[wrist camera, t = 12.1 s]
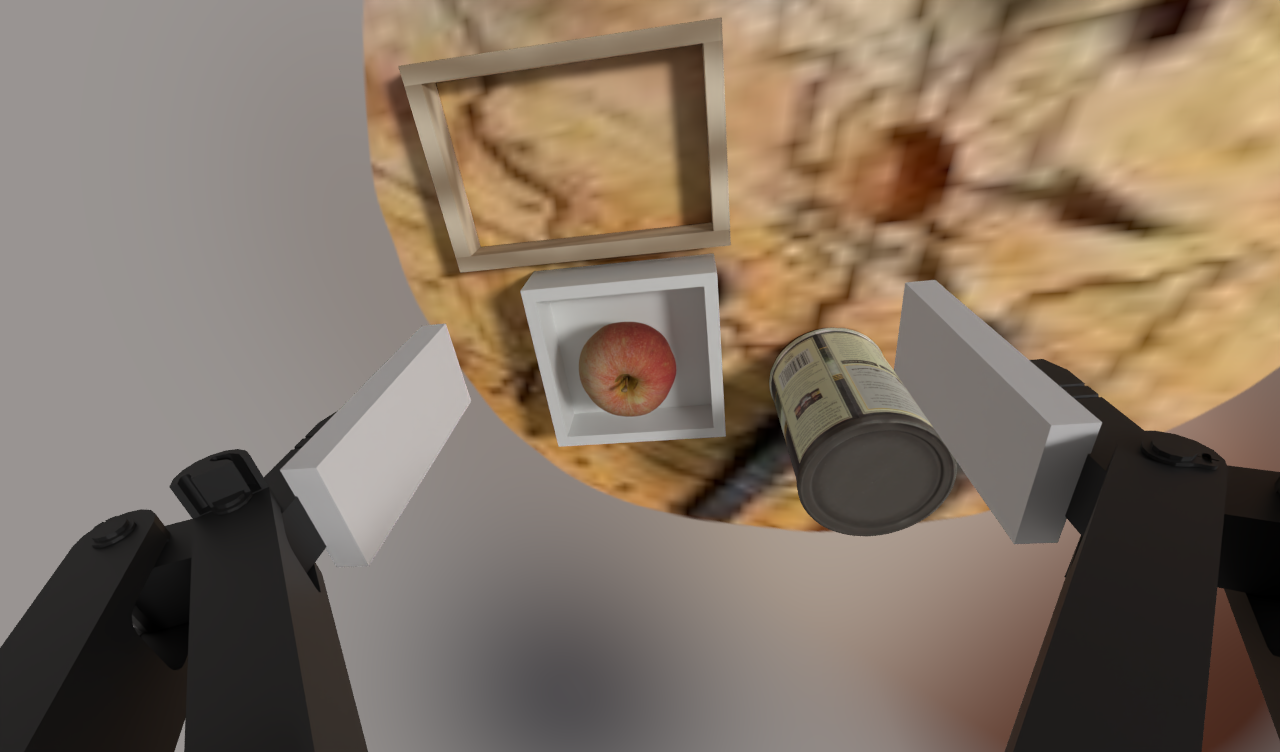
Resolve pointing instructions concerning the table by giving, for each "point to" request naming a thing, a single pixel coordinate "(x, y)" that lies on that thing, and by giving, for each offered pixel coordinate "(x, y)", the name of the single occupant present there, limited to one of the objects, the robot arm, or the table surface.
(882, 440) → the coffee can
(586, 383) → the apple
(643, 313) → the bin
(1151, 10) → the table surface
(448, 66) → the corral
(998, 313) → the table surface
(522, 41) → the table surface
